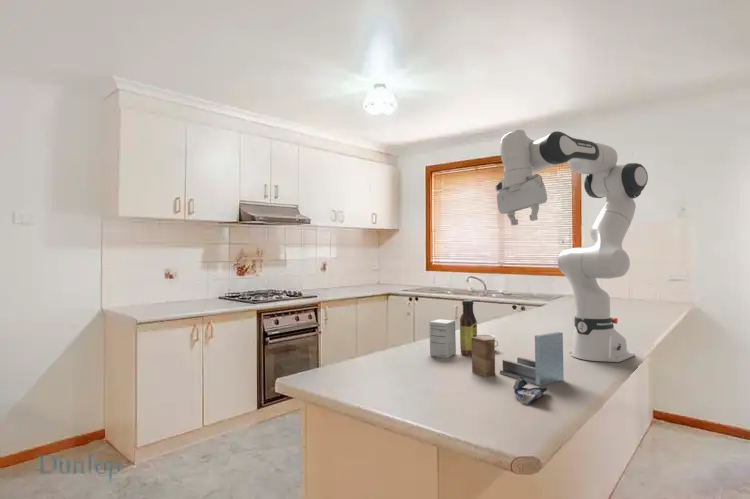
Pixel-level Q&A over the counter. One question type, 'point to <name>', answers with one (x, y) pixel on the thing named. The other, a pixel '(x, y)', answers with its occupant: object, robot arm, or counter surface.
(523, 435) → the counter surface
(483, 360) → the tan wooden block
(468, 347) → the sauce bottle
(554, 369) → the track
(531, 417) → the counter surface
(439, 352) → the supplement box
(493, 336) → the teacup
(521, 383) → the snack package
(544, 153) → the robot arm
